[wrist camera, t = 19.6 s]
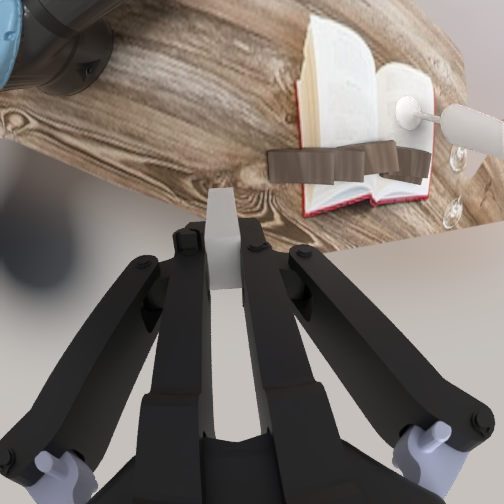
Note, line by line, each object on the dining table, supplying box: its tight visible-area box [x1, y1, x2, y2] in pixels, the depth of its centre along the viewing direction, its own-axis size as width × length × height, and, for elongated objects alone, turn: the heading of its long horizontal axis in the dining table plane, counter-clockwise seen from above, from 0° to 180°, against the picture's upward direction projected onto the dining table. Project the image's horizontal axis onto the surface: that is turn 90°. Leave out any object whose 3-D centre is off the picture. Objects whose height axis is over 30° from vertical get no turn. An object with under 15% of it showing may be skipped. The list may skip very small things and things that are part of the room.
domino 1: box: [268, 150, 334, 185], centre depth 40 cm, size 2×5×10 cm
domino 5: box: [379, 173, 422, 185], centre depth 44 cm, size 2×5×10 cm
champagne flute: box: [395, 96, 504, 160], centre depth 29 cm, size 7×7×24 cm
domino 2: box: [301, 148, 365, 182], centre depth 41 cm, size 2×5×10 cm
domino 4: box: [385, 146, 431, 178], centre depth 41 cm, size 2×5×10 cm
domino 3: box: [337, 140, 399, 175], centre depth 40 cm, size 2×5×10 cm
